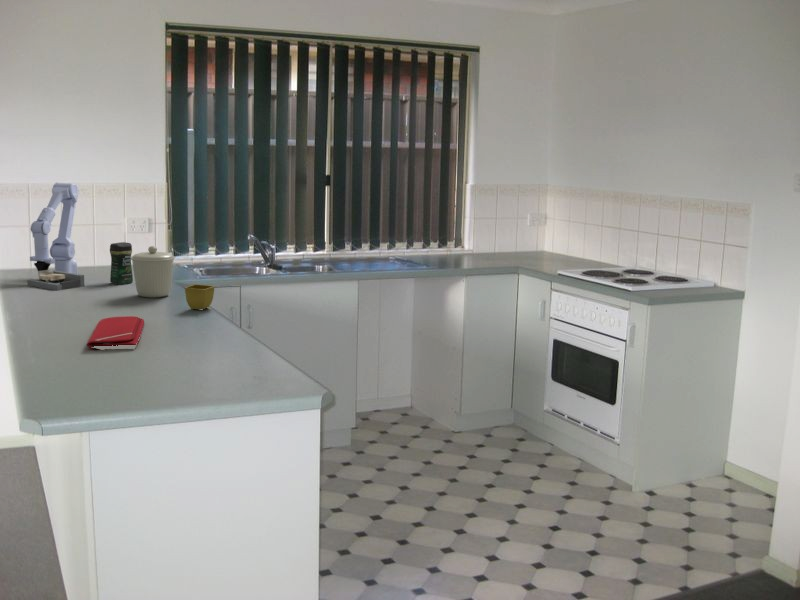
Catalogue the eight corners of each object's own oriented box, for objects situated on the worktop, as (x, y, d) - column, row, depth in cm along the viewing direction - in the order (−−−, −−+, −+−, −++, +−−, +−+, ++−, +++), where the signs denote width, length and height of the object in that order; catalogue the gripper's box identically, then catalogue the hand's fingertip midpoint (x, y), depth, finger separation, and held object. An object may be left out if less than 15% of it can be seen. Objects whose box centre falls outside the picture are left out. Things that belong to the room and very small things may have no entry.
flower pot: (215, 308, 352) (215, 285, 351) (204, 312, 344) (204, 289, 342) (195, 306, 355) (195, 284, 353) (184, 310, 346) (184, 287, 345)
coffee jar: (119, 285, 397) (117, 244, 393) (107, 283, 401) (106, 242, 398) (136, 282, 405) (135, 242, 401) (124, 280, 409) (123, 240, 406)
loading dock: (54, 282, 404) (53, 270, 403) (84, 287, 393) (84, 274, 392) (27, 286, 392) (26, 274, 391) (57, 291, 381) (57, 278, 380)
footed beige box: (53, 280, 399) (52, 269, 398) (66, 281, 394) (65, 270, 393) (38, 282, 392) (37, 271, 391) (51, 283, 387) (50, 272, 387)
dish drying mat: (145, 323, 323) (145, 313, 323) (137, 351, 284) (137, 339, 283) (100, 324, 320) (99, 314, 319) (85, 352, 281) (85, 341, 280)
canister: (122, 296, 371) (120, 246, 367) (152, 290, 387) (151, 242, 383) (155, 301, 363) (153, 250, 359) (185, 294, 378) (183, 245, 375)
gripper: (23, 247, 394) (24, 277, 397) (44, 250, 387) (45, 281, 389) (37, 246, 400) (38, 275, 403) (58, 248, 393) (59, 279, 395)
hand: (43, 278), depth 396 cm, fingers closed
